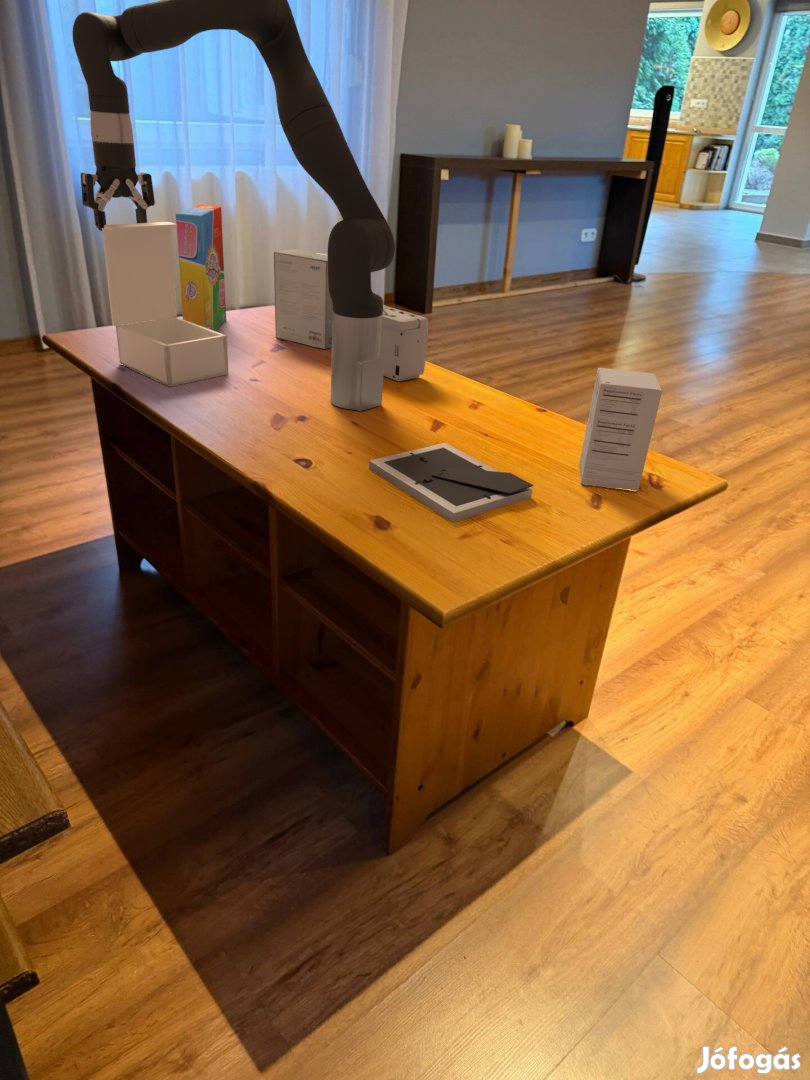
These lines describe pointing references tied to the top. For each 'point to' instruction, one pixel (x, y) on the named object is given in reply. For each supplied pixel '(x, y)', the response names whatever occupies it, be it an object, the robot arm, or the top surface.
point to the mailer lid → (140, 271)
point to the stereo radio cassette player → (403, 344)
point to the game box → (201, 265)
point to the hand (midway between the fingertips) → (122, 229)
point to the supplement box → (619, 428)
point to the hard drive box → (302, 298)
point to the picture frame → (451, 481)
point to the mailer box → (172, 350)
